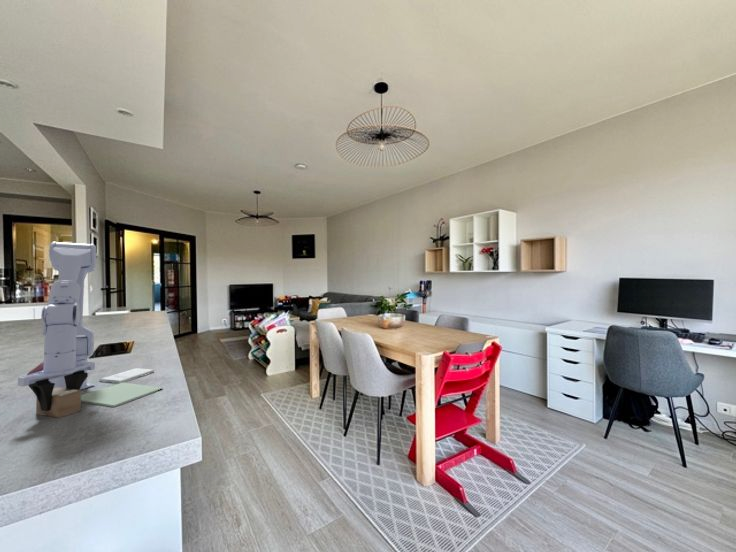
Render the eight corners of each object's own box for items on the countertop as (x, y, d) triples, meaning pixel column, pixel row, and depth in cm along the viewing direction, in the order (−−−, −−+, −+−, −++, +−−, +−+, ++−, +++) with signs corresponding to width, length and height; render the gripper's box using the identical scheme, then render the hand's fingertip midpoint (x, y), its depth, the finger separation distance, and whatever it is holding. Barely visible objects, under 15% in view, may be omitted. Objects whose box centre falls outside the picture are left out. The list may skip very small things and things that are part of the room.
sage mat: (70, 400, 85) (70, 398, 85) (122, 383, 98) (122, 382, 98) (113, 407, 80) (113, 405, 80) (162, 389, 94) (162, 387, 94)
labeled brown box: (36, 413, 76) (36, 392, 76) (58, 406, 80) (59, 386, 81) (58, 417, 74) (59, 395, 74) (80, 410, 78) (81, 389, 78)
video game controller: (50, 385, 100) (64, 364, 103) (32, 382, 97) (47, 360, 100) (41, 380, 106) (55, 359, 108) (24, 377, 102) (38, 356, 105)
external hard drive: (153, 374, 111) (119, 385, 99) (134, 372, 112) (99, 383, 100) (154, 369, 111) (119, 380, 99) (135, 367, 112) (99, 378, 100)
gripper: (33, 359, 69) (31, 420, 69) (103, 346, 83) (102, 397, 83) (12, 357, 71) (10, 416, 71) (84, 345, 85) (83, 394, 85)
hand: (58, 406), depth 77 cm, fingers closed on labeled brown box, 4 cm apart
